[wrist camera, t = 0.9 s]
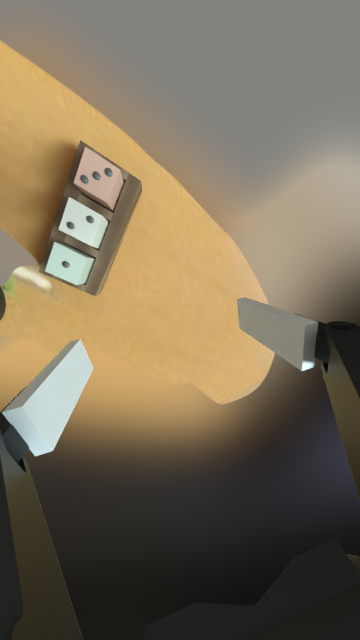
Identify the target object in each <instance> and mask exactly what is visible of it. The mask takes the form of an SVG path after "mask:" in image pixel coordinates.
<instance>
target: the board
mask: <svg viewBox="0 0 360 640" xmlns="http://www.w3.org/2000/svg"><path fill="white" fill-rule="evenodd" d="M85 147H87V148H88V149H90V150H91V151H93V152H94V153H96V154H97V155H99V156H100V157H102V158H103V159H105V160H106V161H108V162H109V163H111V164H112V165H114V166H115V167H117V168H118V169H120V171H121V174H122V178H123V181H124V187H123V189H122V192H121V194H120V197H119V200H118V202H117V205H116V207H115V210H114V213H112V212H111V211H109V210H107V209H106V208H104V207H102V206H100V205H99V204H97V203H95V202H94V201H92V200H90V198H88V197H86V196H85V195H84V194H83V193H82V192H81V191H80V189H79V188H78V187H77V186H76V185H75V184H74V180H75V177H76V174H77V171H78V168H79V164H80V161H81V158H82V155H83V152H84V149H85ZM141 192H142V185H141V181H140V180H139V179H137V178H136V177H134V176H133V175H131V174H130V173H128V172H127V171H125V170H124V169H122V168H121V167H119V166H118V165H116V164H115V163H113V162H112V161H110V160H109V159H107V158H106V157H104V156H103V155H101V154H100V153H98V152H97V151H96V150H94V149H93V148H91V147H90V146H88V145H87V144H85V143H84V142H82V141H81V140H80V143H79V146H78V149H77V152H76V156H75V159H74V162H73V165H72V168H71V171H70V175H69V178H68V181H67V184H66V187H65V190H64V194H63V197H62V200H61V203H60V206H59V209H58V213H57V216H56V219H55V222H54V225H53V228H52V231H51V235H50V238H49V241H48V244H47V247H46V250H45V254H44V257H43V260H42V263H41V266H40V269H39V272H41V273H43V274H45V275H47V276H50V277H52V278H54V279H57V280H59V281H61V282H64V283H66V284H68V285H71V286H73V287H75V288H78V289H80V290H82V291H85V292H87V293H89V294H92V295H94V296H96V295H98V294H99V293H101V291H102V288H103V286H104V283H105V281H106V278H107V276H108V273H109V271H110V269H111V266H112V264H113V261H114V259H115V256H116V254H117V251H118V249H119V246H120V244H121V241H122V239H123V236H124V234H125V232H126V229H127V227H128V224H129V222H130V219H131V217H132V214H133V212H134V209H135V207H136V204H137V202H138V200H139V197H140V195H141ZM69 197H70V198H72V199H74V200H76V201H77V202H79V203H81V204H83V205H84V206H86V207H88V208H90V209H91V210H93V211H95V212H97V213H98V214H100V215H102V216H103V217H104V218H105V219H106V220H107V221H108V222H109V226H108V228H107V231H106V234H105V236H104V239H103V241H102V244H101V247H100V249H97V248H95V247H92V246H90V245H88V244H86V243H84V242H82V241H80V240H78V239H76V238H74V237H72V236H70V235H68V234H66V233H64V232H62V231H60V230H58V229H59V226H60V223H61V220H62V217H63V214H64V211H65V208H66V205H67V202H68V198H69ZM54 242H57V243H61V244H65V245H69V246H71V247H75V248H77V249H79V250H81V251H83V252H85V253H87V254H89V255H91V256H93V257H95V258H96V260H95V262H94V265H93V268H92V270H91V273H90V275H89V278H88V281H87V283H84V284H80V285H75V284H73V283H71V282H68V281H66V280H64V279H61V278H59V277H57V276H54V275H52V274H50V273H48V272H45V269H46V266H47V263H48V260H49V257H50V254H51V251H52V248H53V245H54Z"/></svg>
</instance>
